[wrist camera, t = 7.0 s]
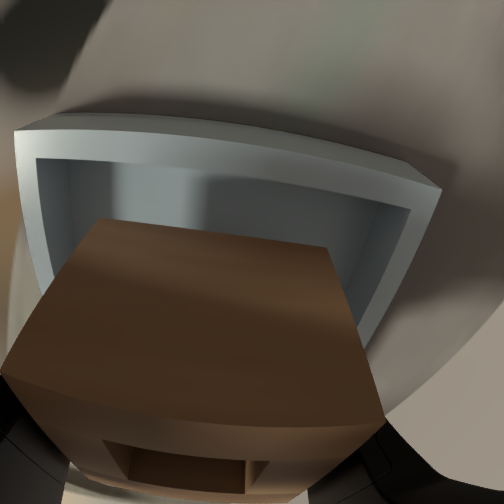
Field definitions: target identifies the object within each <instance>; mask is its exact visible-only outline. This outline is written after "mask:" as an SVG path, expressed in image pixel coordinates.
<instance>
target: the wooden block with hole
mask: <svg viewBox="0 0 504 504" xmlns="http://www.w3.org/2000/svg"><path fill="white" fill-rule="evenodd" d="M0 373H1V375H2V376H3V378H4V379H5V381H6V382H7V384H8V385H9V387H10V388H11V390H12V391H13V392H14V394H15V395H16V397H17V398H18V399H19V401H20V402H21V404H22V405H23V406H24V408H25V409H26V410H27V411H28V413H29V414H30V415H31V417H32V418H33V419H34V420H35V422H36V423H37V424H38V425H39V427H40V428H41V429H42V430H43V431H44V432H45V434H46V435H47V436H48V437H49V438H50V439H51V441H52V442H53V443H54V444H55V445H56V446H57V447H58V448H59V449H60V451H61V452H62V453H63V454H64V455H65V456H66V457H67V458H68V459H69V460H70V461H71V462H72V463H73V464H74V465H75V466H76V467H77V468H78V469H79V470H80V471H81V472H82V473H83V474H84V475H85V476H86V477H87V478H88V479H90V480H93V481H97V482H100V483H104V484H108V485H111V486H115V487H120V488H124V489H128V490H133V491H138V492H143V493H148V494H153V495H159V496H165V497H172V498H179V499H187V500H196V501H207V502H220V503H243V504H247V503H248V504H272V503H287V502H289V501H290V500H292V499H293V498H295V497H296V496H298V495H299V494H301V493H302V492H303V491H305V490H306V489H308V488H309V487H310V486H312V485H313V484H315V483H316V482H317V481H319V480H320V479H321V478H323V477H324V476H325V475H326V474H328V473H329V472H330V471H332V470H333V469H334V468H335V467H337V466H338V465H339V464H340V463H341V462H343V461H344V460H345V459H346V458H347V457H349V456H350V455H351V454H352V453H353V452H354V451H356V450H357V449H358V448H359V447H360V446H361V445H362V444H363V443H365V442H366V441H367V440H368V439H369V438H370V437H371V436H372V435H373V434H374V433H375V432H376V431H378V430H379V429H380V428H381V427H382V426H383V425H384V424H385V423H386V419H385V416H384V412H383V409H382V406H381V402H380V399H379V395H378V392H377V389H376V386H375V382H374V379H373V376H372V373H371V370H370V367H369V363H368V360H367V357H366V354H365V351H364V348H363V345H362V342H361V339H360V336H359V334H358V331H357V328H356V325H355V322H354V319H353V316H352V314H351V311H350V308H349V305H348V302H347V300H346V297H345V294H344V292H343V289H342V286H341V284H340V281H339V278H338V276H337V273H336V270H335V268H334V265H333V263H332V260H331V258H330V255H329V252H328V250H327V247H320V246H313V245H306V244H299V243H292V242H285V241H278V240H270V239H263V238H256V237H249V236H241V235H234V234H226V233H219V232H211V231H204V230H196V229H188V228H181V227H173V226H165V225H157V224H149V223H141V222H133V221H125V220H116V219H108V218H99V219H98V220H97V221H96V223H95V224H94V225H93V226H92V228H91V229H90V230H89V232H88V233H87V234H86V235H85V237H84V238H83V239H82V241H81V242H80V243H79V245H78V246H77V247H76V249H75V250H74V251H73V253H72V254H71V255H70V257H69V258H68V260H67V261H66V262H65V264H64V265H63V267H62V268H61V269H60V271H59V272H58V274H57V275H56V277H55V278H54V280H53V281H52V283H51V284H50V286H49V287H48V289H47V290H46V292H45V293H44V295H43V296H42V298H41V299H40V301H39V302H38V304H37V306H36V307H35V309H34V310H33V312H32V314H31V315H30V317H29V318H28V320H27V322H26V323H25V325H24V327H23V329H22V330H21V332H20V334H19V335H18V337H17V339H16V341H15V343H14V344H13V346H12V348H11V350H10V352H9V353H8V355H7V357H6V359H5V361H4V363H3V365H2V367H1V369H0Z"/></svg>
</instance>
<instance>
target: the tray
mask: <svg viewBox="0 0 504 504" xmlns="http://www.w3.org/2000/svg"><path fill="white" fill-rule="evenodd" d="M14 143H15V157H16V168H17V177H18V185H19V193H20V200H21V206H22V212H23V218H24V223H25V229H26V234H27V238H28V243H29V248H30V252H31V256H32V260H33V264H34V268H35V272H36V276H37V279H38V283H39V286H40V290H41V293H42V296H43V295H44V293H45V292H46V290H47V289H48V287H49V286H50V284H51V283H52V281H53V280H54V278H55V277H56V275H57V274H58V272H59V271H60V269H61V268H62V267H63V265H64V264H65V262H66V261H67V260H68V258H69V257H70V255H71V254H72V253H73V251H74V250H75V249H76V247H77V246H78V245H79V243H80V242H81V241H82V239H83V238H84V237H85V235H86V234H87V233H88V232H89V230H90V229H91V228H92V226H93V225H94V224H95V223H96V221H97V220H98V219H99V218H108V219H116V220H125V221H133V222H141V223H149V224H157V225H165V226H173V227H181V228H188V229H196V230H204V231H211V232H219V233H226V234H234V235H241V236H249V237H256V238H263V239H270V240H278V241H285V242H292V243H299V244H306V245H313V246H320V247H327V250H328V252H329V255H330V258H331V260H332V263H333V265H334V268H335V270H336V273H337V276H338V278H339V281H340V284H341V286H342V289H343V292H344V294H345V297H346V300H347V302H348V305H349V308H350V311H351V314H352V316H353V319H354V322H355V325H356V328H357V331H358V334H359V336H360V339H361V342H362V345H363V348H365V347H366V345H367V343H368V342H369V340H370V338H371V337H372V335H373V333H374V332H375V330H376V328H377V326H378V325H379V323H380V321H381V319H382V318H383V316H384V314H385V312H386V310H387V309H388V307H389V305H390V303H391V301H392V299H393V298H394V296H395V294H396V292H397V290H398V288H399V286H400V284H401V282H402V280H403V278H404V276H405V274H406V272H407V270H408V268H409V266H410V264H411V262H412V260H413V258H414V256H415V253H416V251H417V249H418V247H419V245H420V243H421V240H422V238H423V236H424V234H425V231H426V229H427V227H428V224H429V222H430V220H431V217H432V215H433V212H434V210H435V207H436V205H437V202H438V200H439V197H440V195H441V192H442V189H441V188H439V187H438V186H437V185H436V184H434V183H433V182H432V181H430V180H429V179H428V178H427V177H425V176H424V175H423V174H421V173H420V172H419V171H417V170H416V169H415V168H413V167H412V166H411V165H409V164H408V163H406V162H405V161H401V160H398V159H395V158H391V157H388V156H385V155H381V154H378V153H374V152H370V151H367V150H363V149H359V148H355V147H351V146H347V145H343V144H339V143H335V142H331V141H327V140H322V139H318V138H313V137H308V136H304V135H299V134H294V133H289V132H283V131H278V130H272V129H267V128H261V127H255V126H248V125H242V124H235V123H228V122H220V121H212V120H204V119H195V118H185V117H174V116H162V115H147V114H127V113H56V114H54V115H51V116H48V117H46V118H43V119H41V120H38V121H36V122H34V123H31V124H29V125H26V126H24V127H22V128H19V129H17V130H15V131H14Z"/></svg>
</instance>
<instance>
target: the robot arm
mask: <svg viewBox="0 0 504 504" xmlns="http://www.w3.org/2000/svg"><path fill="white" fill-rule="evenodd" d="M385 419H386V418H385ZM69 464H70V460H69V459H68V458H67V457H66V456H65V455H64V454H63V453H62V452H61V451H60V449H59V448H58V447H57V446H56V445H55V444H54V443H53V442H52V441H51V439H50V438H49V437H48V436H47V435H46V434H45V432H44V431H43V430H42V429H41V428H40V427H39V425H38V424H37V423H36V422H35V420H34V419H33V418H32V417H31V415H30V414H29V413H28V411H27V410H26V409H25V408H24V406H23V405H22V404H21V402H20V401H19V399H18V398H17V397H16V395H15V394H14V392H13V391H12V390H11V388H10V387H9V385H8V384H7V382H6V381H5V379H4V378H3V376H2V375H0V504H61V501H62V496H63V491H64V485H65V481H66V477H67V472H68V468H69ZM307 490H308V499H309V504H504V491H498V490H493V489H488V488H484V487H480V486H475V485H471V484H467V483H464V482H460V481H456V480H452V479H449V478H447V477H445V476H443V475H441V474H439V473H438V472H437V471H436V470H435V469H433V468H432V467H431V466H430V465H429V464H428V463H427V462H426V461H425V460H424V459H423V458H422V457H421V456H420V455H419V454H418V453H417V452H416V451H415V450H414V449H413V448H412V447H411V446H410V445H409V444H408V443H407V442H406V441H405V440H404V439H403V438H402V436H400V434H399V433H398V432H397V431H396V430H395V429H394V427H393V426H392V425H391V424H390V423H389V421H388V420H387V419H386V423H385V424H384V425H383V426H382V427H381V428H380V429H379V430H378V431H376V432H375V433H374V434H373V435H372V436H371V437H370V438H369V439H368V440H367V441H366V442H365V443H363V444H362V445H361V446H360V447H359V448H358V449H357V450H356V451H354V452H353V453H352V454H351V455H350V456H349V457H347V458H346V459H345V460H344V461H343V462H341V463H340V464H339V465H338V466H337V467H335V468H334V469H333V470H332V471H330V472H329V473H328V474H326V475H325V476H324V477H323V478H321V479H320V480H319V481H317V482H316V483H315V484H313V485H312V486H310V487H309V488H308V489H307Z"/></svg>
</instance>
